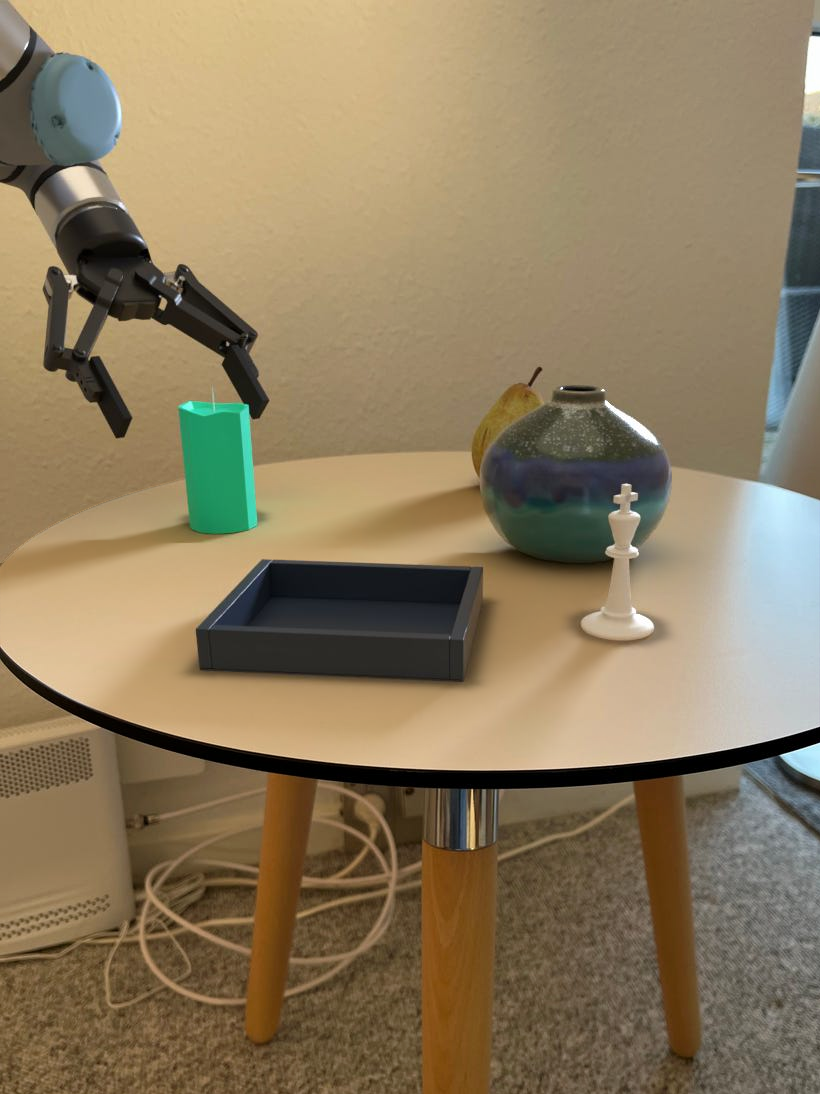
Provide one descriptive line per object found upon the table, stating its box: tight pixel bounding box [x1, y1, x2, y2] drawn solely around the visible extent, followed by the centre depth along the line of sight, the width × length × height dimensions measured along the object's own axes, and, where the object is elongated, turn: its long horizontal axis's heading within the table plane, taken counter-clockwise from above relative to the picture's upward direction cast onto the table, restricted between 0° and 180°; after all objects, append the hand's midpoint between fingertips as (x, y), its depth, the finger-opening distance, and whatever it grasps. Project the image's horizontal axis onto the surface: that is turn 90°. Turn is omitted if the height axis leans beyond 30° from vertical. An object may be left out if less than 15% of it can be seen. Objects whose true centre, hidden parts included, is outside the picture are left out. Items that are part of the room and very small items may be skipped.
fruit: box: [471, 366, 546, 480], centre depth 103 cm, size 9×9×12 cm
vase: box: [478, 384, 673, 564], centre depth 81 cm, size 15×15×13 cm
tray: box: [195, 558, 484, 683], centre depth 65 cm, size 16×14×3 cm
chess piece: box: [580, 484, 655, 642], centre depth 65 cm, size 5×5×10 cm
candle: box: [177, 387, 258, 535], centre depth 89 cm, size 6×6×12 cm
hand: (196, 419), depth 90 cm, fingers open, 13 cm apart
